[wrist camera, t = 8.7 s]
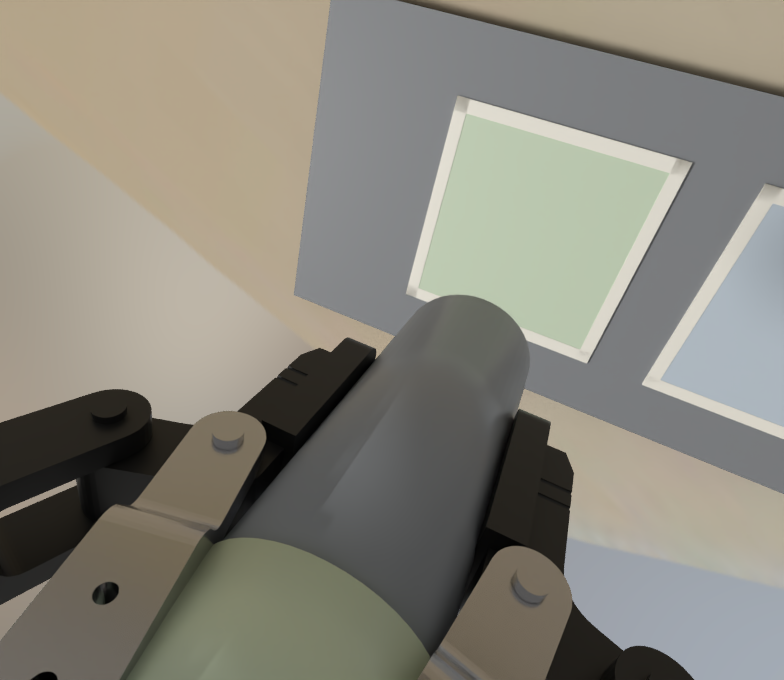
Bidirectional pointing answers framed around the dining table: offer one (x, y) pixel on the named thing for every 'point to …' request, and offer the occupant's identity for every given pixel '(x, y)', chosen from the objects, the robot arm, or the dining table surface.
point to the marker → (362, 519)
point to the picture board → (560, 218)
